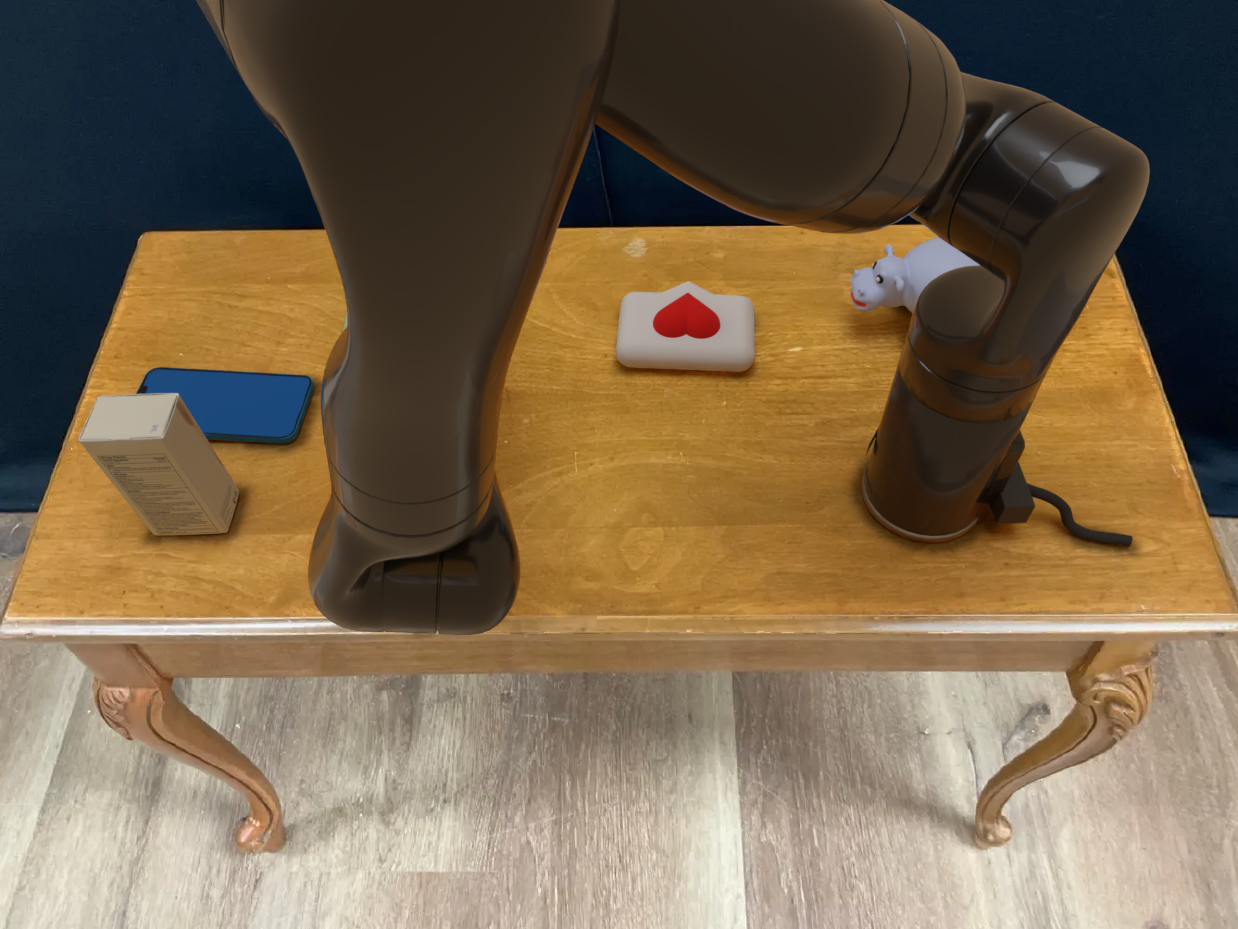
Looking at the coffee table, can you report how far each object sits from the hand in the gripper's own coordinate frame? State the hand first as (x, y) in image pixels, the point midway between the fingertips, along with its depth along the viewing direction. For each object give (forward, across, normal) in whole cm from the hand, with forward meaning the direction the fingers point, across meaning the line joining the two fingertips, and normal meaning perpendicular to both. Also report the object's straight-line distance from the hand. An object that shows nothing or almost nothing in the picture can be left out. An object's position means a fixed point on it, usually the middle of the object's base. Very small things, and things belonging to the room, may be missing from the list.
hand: (455, 167), depth 70 cm
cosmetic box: (-15, +23, +21) cm, 35 cm away
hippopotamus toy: (+3, -40, +21) cm, 45 cm away
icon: (+3, -18, +21) cm, 28 cm away
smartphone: (-4, +23, +21) cm, 32 cm away
